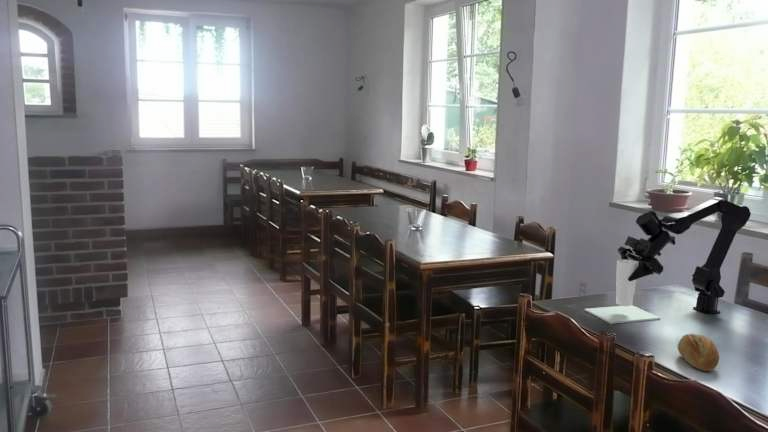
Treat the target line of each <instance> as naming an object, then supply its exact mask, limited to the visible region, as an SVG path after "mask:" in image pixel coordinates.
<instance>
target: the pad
mask: <svg viewBox="0 0 768 432" xmlns="http://www.w3.org/2000/svg"><path fill="white" fill-rule="evenodd" d="M583 311H585V312H587V314H588V313H589V314H591V315H593V316H595V317H596V318H598V319H600V320H603V321H604V322H606V323H608V324H610V325H613V324H614V325H615V324H623V323H624V324H625V323H636V322H646V321H657V320H659V321H660V320H661V317H660V316H658V315H655V314H653V313H651V312H650V311H649V312H648V311H646V310H643V309H642V308H639V307H637V306H635V305H633V304H632V305H631V306H620V305H617V306H616V305H615V306H614V305H613V306H603V307H591V308H590V307H589V308H584V310H583Z"/></svg>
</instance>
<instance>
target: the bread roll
mask: <svg viewBox="0 0 768 432" xmlns="http://www.w3.org/2000/svg"><path fill="white" fill-rule="evenodd" d="M677 350H678V353H679V354H680V356H681V357H682V358H683V359H684V360H685V361H686V362H687V363H689V364H690V365H691V366H693V367H694V368H696V369H697V370H700V371H704V372H712V371H713V370H715V368H717V366H718V364H719V361H720V354H719V351H718V348H717V346H716V344H715V343H714V341H712V339H710V337H707V336H704V335H701V334H695V333H689V334H687V333H686V334H684V335H683V336H682V337H681V338H680V339H679V341H678V343H677Z"/></svg>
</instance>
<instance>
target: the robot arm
mask: <svg viewBox="0 0 768 432" xmlns="http://www.w3.org/2000/svg"><path fill="white" fill-rule="evenodd" d="M716 213H720V214H721V216H720V220H721V222H720V223H721V227H720V230H719V232H718V235H717V236H716V239H715V241H714V243H713V245H712V248H711V250H710V252H709V254H708V257H707V258H706V262H704V264H703V265H702V266H699V265H697V266H696V267H695V270H694V272H693V274H692V275H691V276H692V279H691V283H692V284H693V287H694V291H695V292H698V294H697V297H696V303H695V306H693V307H692V309H694V310H696V311H698V312H700V313H703V314H706V315H709V314H710V315H711V314H720V313H721V310H718V305H719V299H720V298H724V295H725V294H726V291H725V290H724V288H723V287H722V286H721V285H720V283H721V281H722V280H721V279H722V275H721V267H722V265H723V263H724V261H725V259H726V256H727V255H728V252H729V250H730V248H731V246H732V243H733V241H734V239H735V236H736V234H737V233H738V231H740V230H741V229H742V228H744V227H745V226H746V225H747V222H748V221H749V219H750V218H751V214H752V212H751V211H750V208H749V207H748V206H746V205H741V204H736V203H733V202H731V201H729V200H727V199H726V198H722V197H716V196H715V197H712V198H711V199H709V200H708V201H705V202H703V203H701V204H699V205H696V206H694V207H692V208H690V209H688V210H685V211H682V212H674V213H670V214H666V215H665V216H663V217H661V218H659V216H658V215H657V213H656V212H655V211H654V210H649V211H648V212H644V213H642V214H641V215H639V216H637V218H636V220H635V223H636V225H637V226H638V228H640V229H641V231H642V232H643V233H644V235H645V236H649V237H648V238H647V239H645V238H639V239H638V238H635V237H633V236H630V235H628V236H627V237H626V240H625V242H624V244H623V245H625V246H620V247H618V248H617V251H616V252H618V254H619V255H620V257H621V258H620V260H623V259H624V260H633V261H636V262H638V267H637V268H636V269H635V271H634V272H633V273H632V274H631V275H630V277H629V278H628V280H629V281H633V280H636V281H637V280H638V279H640V278H643V277H647V276H650V275H654V274H656V275H658V276H659V275H661V274H662V273H663V272H664V268H665V267H664V265H662V264H661V262H660V261H659V260H658V258H656V257H660V256H662V253H661V251H662V250H663V249H664V248H665V247H666V246H667V245H668V244H670V245H673V246H675V245H676V236H673V235H671V234H675V235H682V234H684V233H685V232H686V231H688V230H690V228H691V226H693V224H695V223H697V222H699V221H701V220H703V219H706V218H708V217H710V216H712V215H714V214H716ZM670 233H671V234H670ZM627 246H628V247H627ZM629 247H630V248H629Z"/></svg>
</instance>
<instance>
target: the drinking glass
mask: <svg viewBox="0 0 768 432" xmlns="http://www.w3.org/2000/svg"><path fill="white" fill-rule="evenodd" d="M638 264H639V262H638V261H633V260H624V259H623V260H621V259H617V261H616V268H615V283H616V285H615V287H616V288H615V292H616V293H615V303H616V304H617V306H631V305H633V304H634V303H633V302H634V295H635V289H636V283H637V279H636V280H633V281H629V280H628V278H629V277H630V275H631V274H632V273H633V272H634V271H635V269H636V268H637V267H638Z"/></svg>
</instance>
